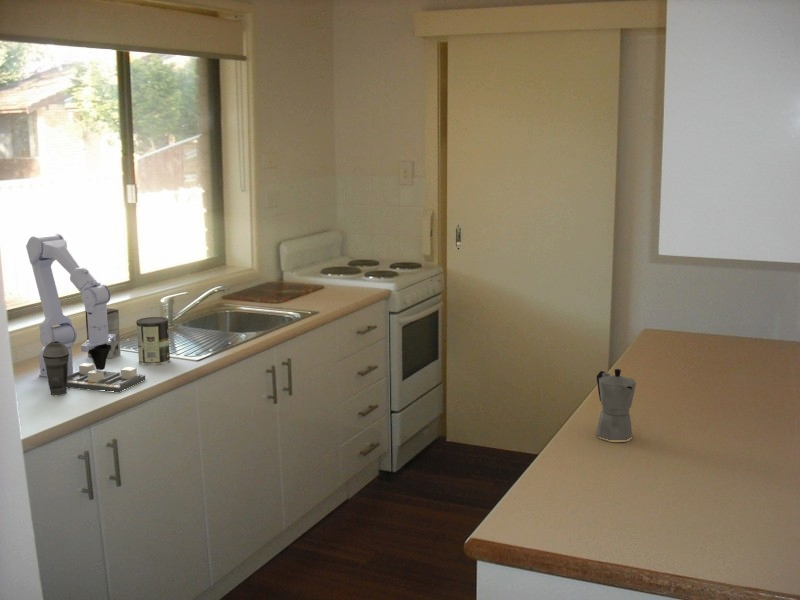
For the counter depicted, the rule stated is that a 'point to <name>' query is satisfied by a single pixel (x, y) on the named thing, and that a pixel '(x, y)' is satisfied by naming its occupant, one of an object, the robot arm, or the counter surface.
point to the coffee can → (153, 340)
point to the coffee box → (111, 332)
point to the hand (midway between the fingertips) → (100, 369)
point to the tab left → (86, 368)
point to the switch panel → (103, 381)
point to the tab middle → (95, 376)
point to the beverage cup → (56, 366)
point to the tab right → (128, 373)
